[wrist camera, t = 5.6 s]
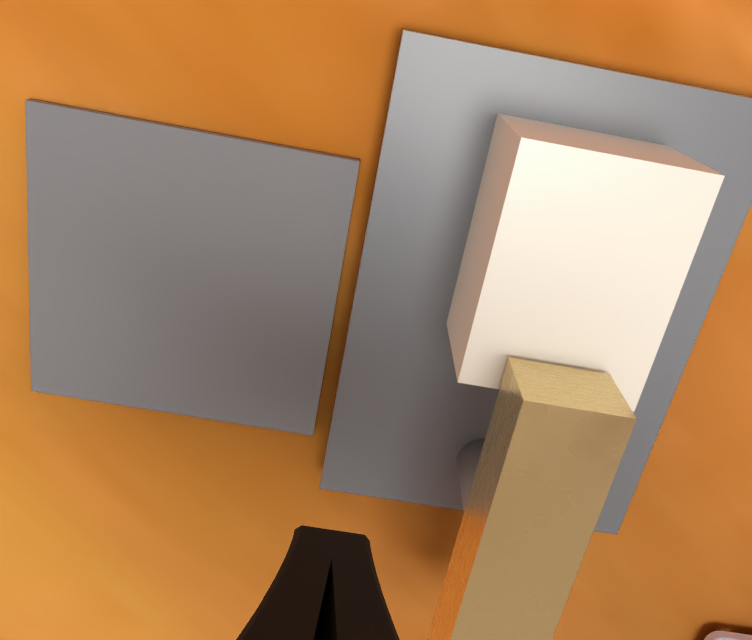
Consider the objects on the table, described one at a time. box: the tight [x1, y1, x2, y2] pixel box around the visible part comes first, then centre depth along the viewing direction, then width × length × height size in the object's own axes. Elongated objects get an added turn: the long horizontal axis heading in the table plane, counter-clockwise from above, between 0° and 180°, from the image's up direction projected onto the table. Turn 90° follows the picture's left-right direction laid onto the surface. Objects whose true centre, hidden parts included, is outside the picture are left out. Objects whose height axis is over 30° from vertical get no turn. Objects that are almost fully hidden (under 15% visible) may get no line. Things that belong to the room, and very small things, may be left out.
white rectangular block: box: [446, 113, 725, 412], centre depth 18 cm, size 4×6×4 cm
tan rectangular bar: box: [427, 357, 637, 640], centre depth 18 cm, size 2×11×2 cm, turn 170°
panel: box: [320, 29, 752, 535], centre depth 19 cm, size 10×14×5 cm
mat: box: [25, 99, 360, 436], centre depth 21 cm, size 9×9×1 cm
